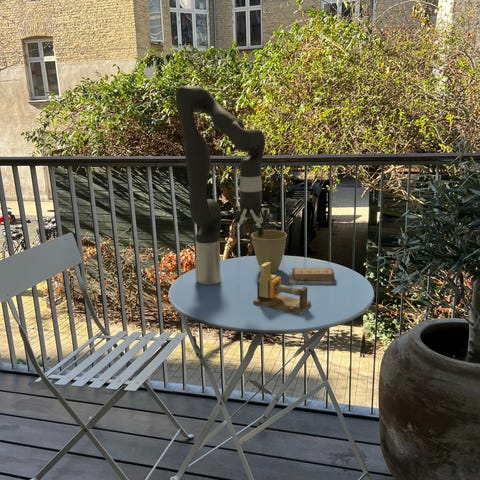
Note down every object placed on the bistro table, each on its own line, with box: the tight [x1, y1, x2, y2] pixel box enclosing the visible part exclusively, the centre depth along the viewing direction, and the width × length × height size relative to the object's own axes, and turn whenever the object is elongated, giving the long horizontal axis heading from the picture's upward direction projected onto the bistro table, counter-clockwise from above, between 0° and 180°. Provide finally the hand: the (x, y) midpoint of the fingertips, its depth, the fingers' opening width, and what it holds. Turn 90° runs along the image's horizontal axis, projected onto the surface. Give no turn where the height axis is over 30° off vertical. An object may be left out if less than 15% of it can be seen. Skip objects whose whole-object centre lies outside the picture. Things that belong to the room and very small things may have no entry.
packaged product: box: [288, 267, 336, 285], centre depth 183 cm, size 18×5×10 cm
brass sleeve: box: [258, 262, 278, 298], centre depth 161 cm, size 4×6×11 cm, turn 148°
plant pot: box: [251, 229, 288, 274], centre depth 193 cm, size 15×15×16 cm
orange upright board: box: [270, 276, 282, 298], centre depth 160 cm, size 1×6×6 cm, turn 148°
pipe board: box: [253, 280, 312, 315], centre depth 159 cm, size 18×9×8 cm, turn 58°
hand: (251, 235), depth 160 cm, fingers open, 6 cm apart
